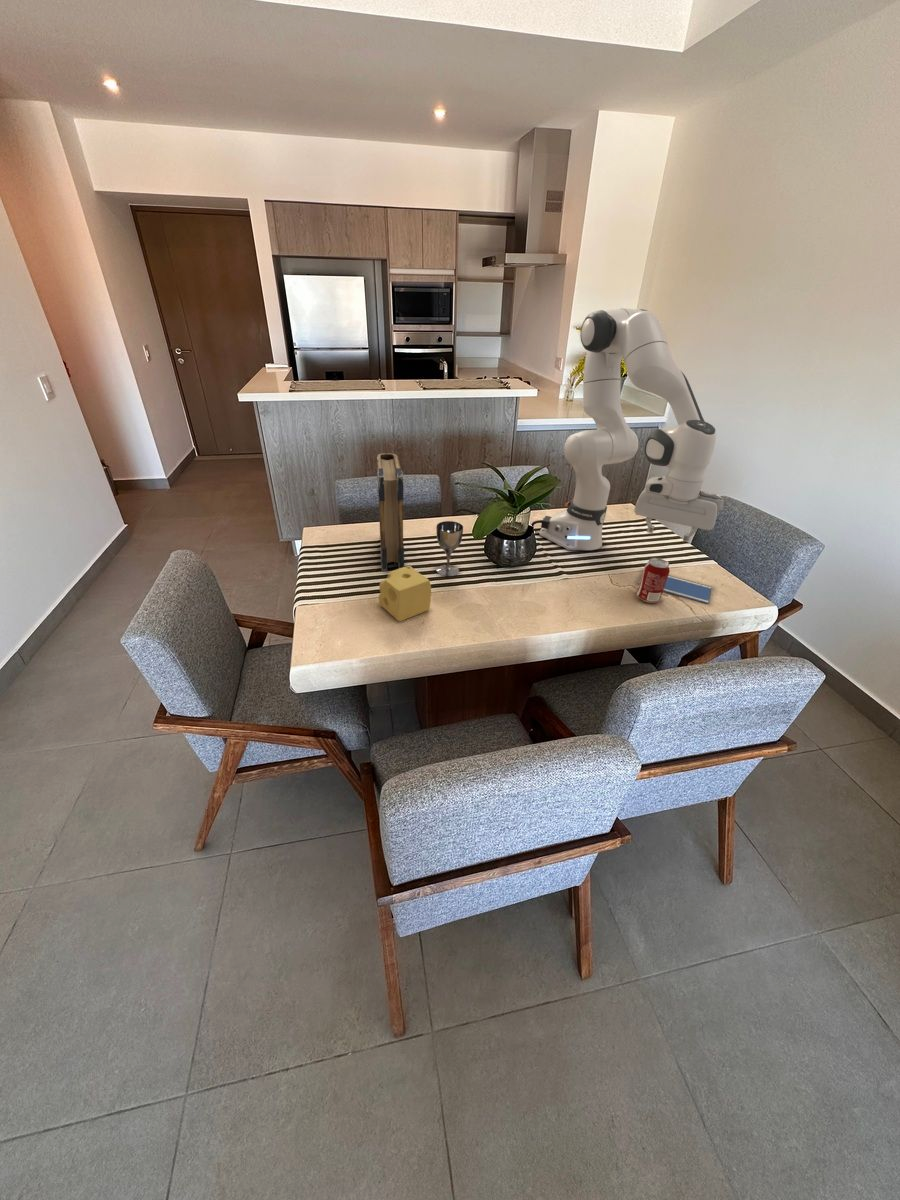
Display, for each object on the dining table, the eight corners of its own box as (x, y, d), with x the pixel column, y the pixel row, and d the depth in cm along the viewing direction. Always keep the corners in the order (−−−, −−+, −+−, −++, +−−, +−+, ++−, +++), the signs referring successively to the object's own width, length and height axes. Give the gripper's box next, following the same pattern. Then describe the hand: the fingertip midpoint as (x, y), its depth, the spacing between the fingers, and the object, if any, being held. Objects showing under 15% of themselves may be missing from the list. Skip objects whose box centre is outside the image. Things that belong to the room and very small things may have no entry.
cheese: (378, 605, 138) (377, 574, 132) (411, 593, 143) (411, 563, 138) (398, 623, 131) (398, 591, 125) (432, 610, 136) (432, 579, 131)
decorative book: (404, 569, 155) (403, 476, 138) (381, 570, 154) (377, 476, 137) (399, 536, 174) (398, 451, 158) (378, 537, 173) (375, 451, 157)
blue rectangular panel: (638, 584, 153) (638, 583, 153) (645, 569, 161) (645, 568, 161) (707, 604, 145) (707, 603, 145) (711, 587, 154) (711, 586, 153)
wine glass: (455, 562, 160) (457, 519, 152) (464, 574, 154) (467, 530, 145) (431, 566, 157) (432, 522, 149) (439, 578, 151) (441, 533, 143)
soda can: (661, 605, 144) (673, 569, 137) (637, 602, 144) (648, 566, 138) (658, 593, 149) (669, 558, 143) (634, 590, 150) (645, 555, 144)
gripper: (727, 492, 126) (709, 541, 134) (644, 476, 134) (632, 524, 142) (725, 499, 122) (707, 550, 129) (640, 483, 130) (627, 531, 137)
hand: (667, 536), depth 136 cm, fingers open, 8 cm apart
